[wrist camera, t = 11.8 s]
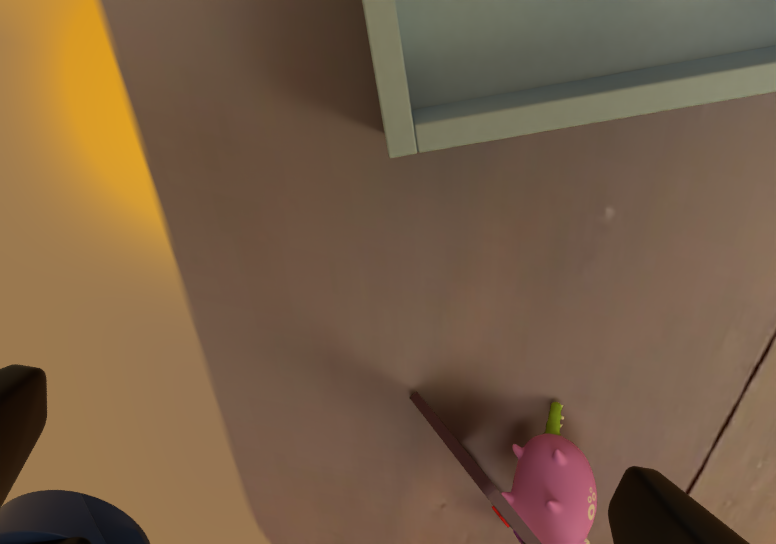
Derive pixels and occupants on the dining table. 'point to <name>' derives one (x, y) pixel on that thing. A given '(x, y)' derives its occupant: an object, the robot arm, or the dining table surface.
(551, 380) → the dining table surface
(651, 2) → the gray tray
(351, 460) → the dining table surface
